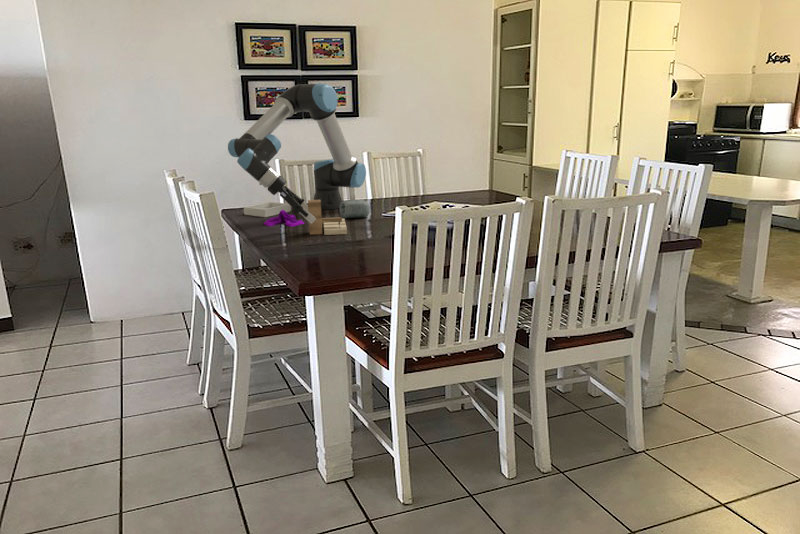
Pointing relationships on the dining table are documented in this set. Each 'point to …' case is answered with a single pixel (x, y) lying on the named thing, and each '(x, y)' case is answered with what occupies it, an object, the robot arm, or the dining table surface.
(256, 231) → the dining table surface
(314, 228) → the tan angular block
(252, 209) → the white shallow tray
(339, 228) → the board
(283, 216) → the cloth
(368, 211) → the spool
